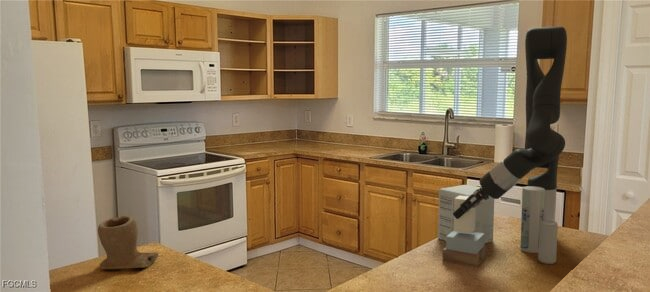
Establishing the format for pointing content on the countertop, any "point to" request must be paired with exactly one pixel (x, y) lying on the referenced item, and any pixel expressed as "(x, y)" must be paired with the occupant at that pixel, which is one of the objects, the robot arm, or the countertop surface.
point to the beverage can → (548, 242)
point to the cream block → (464, 217)
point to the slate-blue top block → (465, 242)
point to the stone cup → (122, 245)
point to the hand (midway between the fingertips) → (459, 214)
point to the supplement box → (446, 210)
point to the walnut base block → (463, 257)
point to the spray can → (531, 217)
